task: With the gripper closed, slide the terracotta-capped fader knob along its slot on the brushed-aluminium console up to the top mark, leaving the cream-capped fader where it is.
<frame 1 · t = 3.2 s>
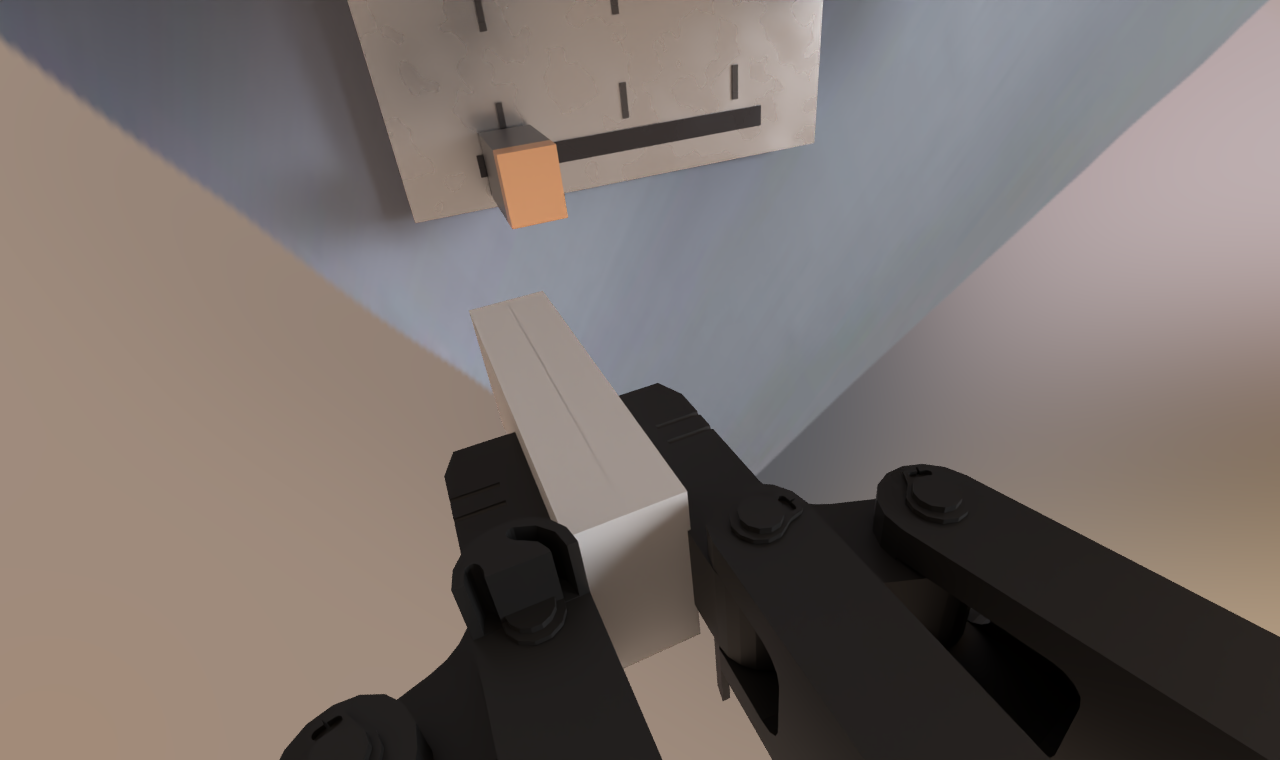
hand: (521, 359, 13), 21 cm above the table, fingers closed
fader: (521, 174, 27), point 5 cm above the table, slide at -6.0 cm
console: (605, 46, 30), on the table
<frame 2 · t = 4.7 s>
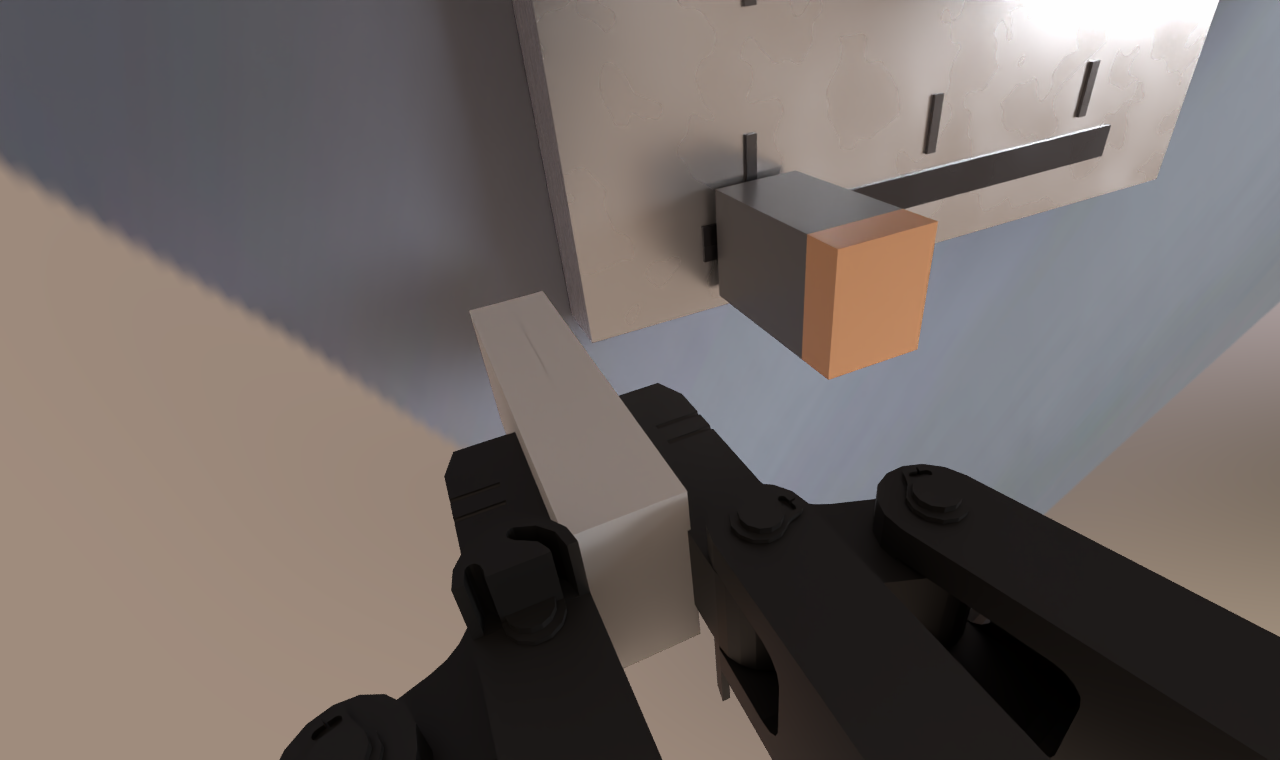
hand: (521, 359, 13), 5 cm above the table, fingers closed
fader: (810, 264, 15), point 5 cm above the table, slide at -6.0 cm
console: (893, 34, 18), on the table
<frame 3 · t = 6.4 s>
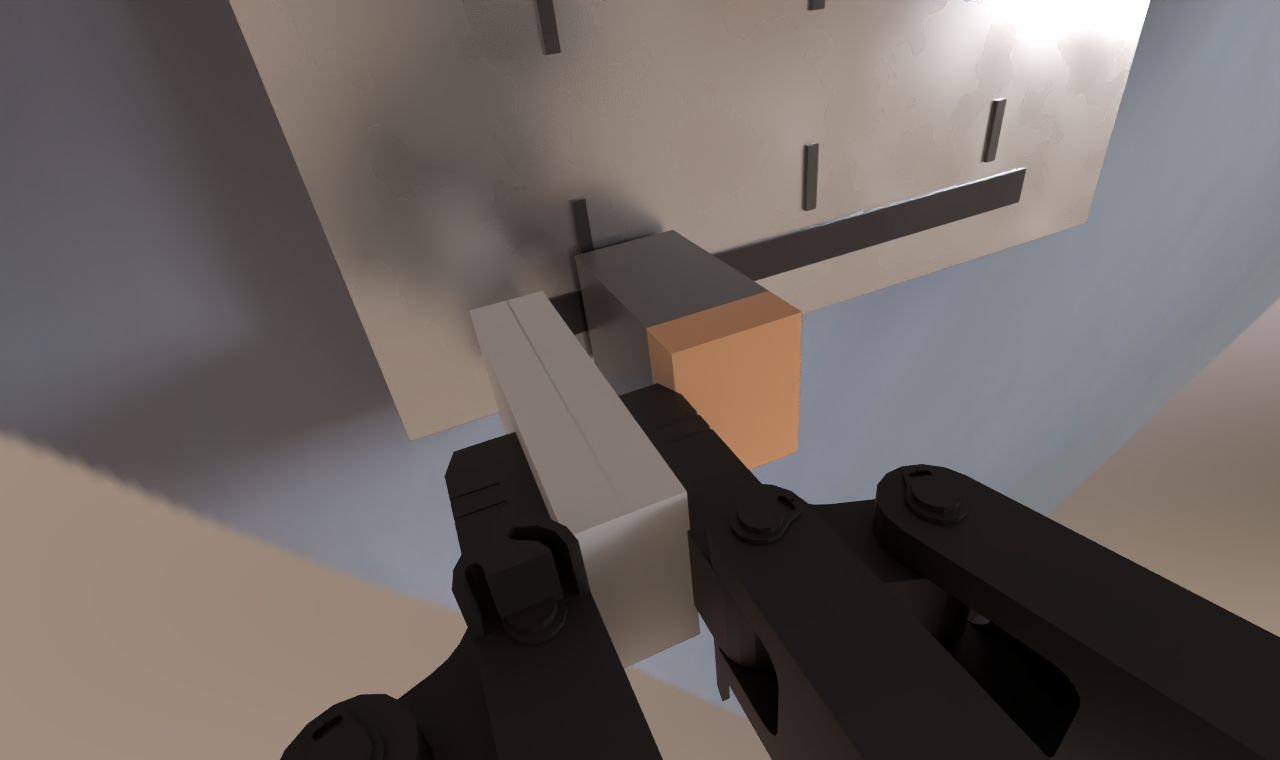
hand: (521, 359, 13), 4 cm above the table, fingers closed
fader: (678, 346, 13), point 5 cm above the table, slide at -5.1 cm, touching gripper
console: (765, 74, 16), on the table
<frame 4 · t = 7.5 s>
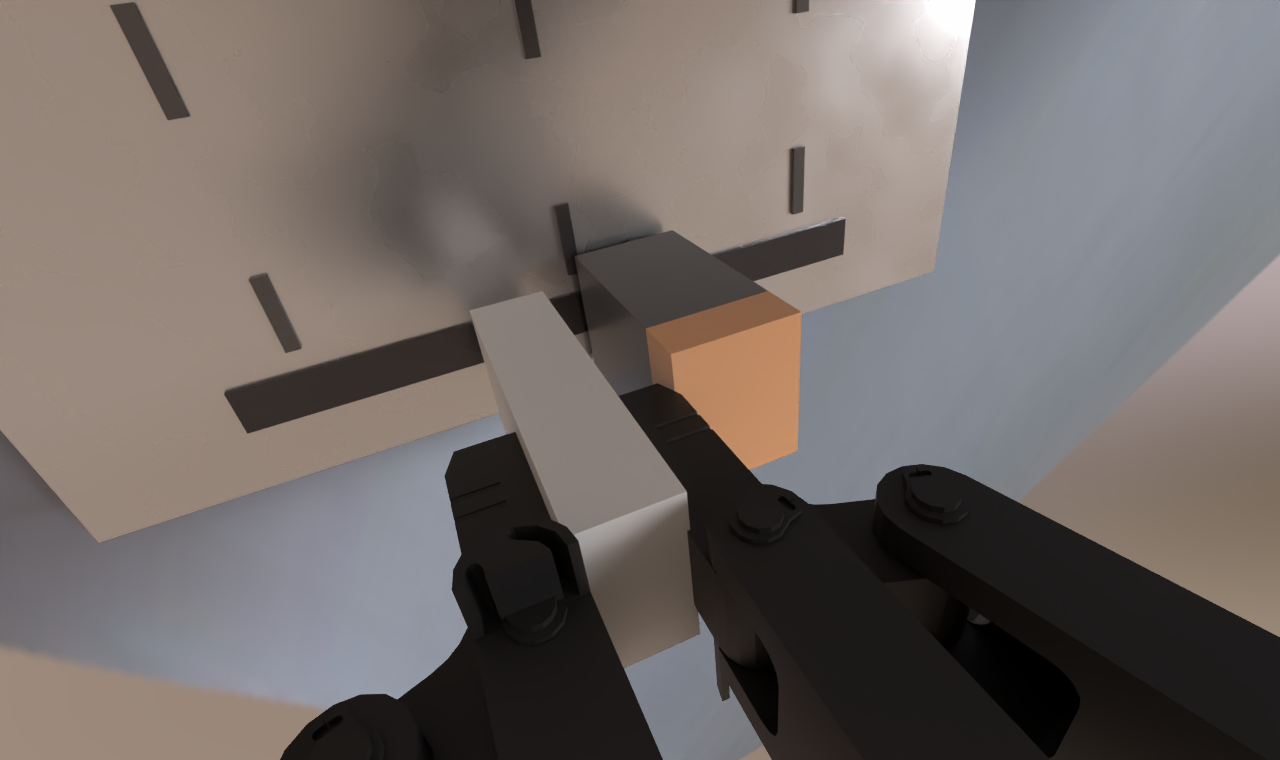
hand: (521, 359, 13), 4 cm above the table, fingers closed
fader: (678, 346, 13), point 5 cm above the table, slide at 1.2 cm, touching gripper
console: (523, 122, 14), on the table
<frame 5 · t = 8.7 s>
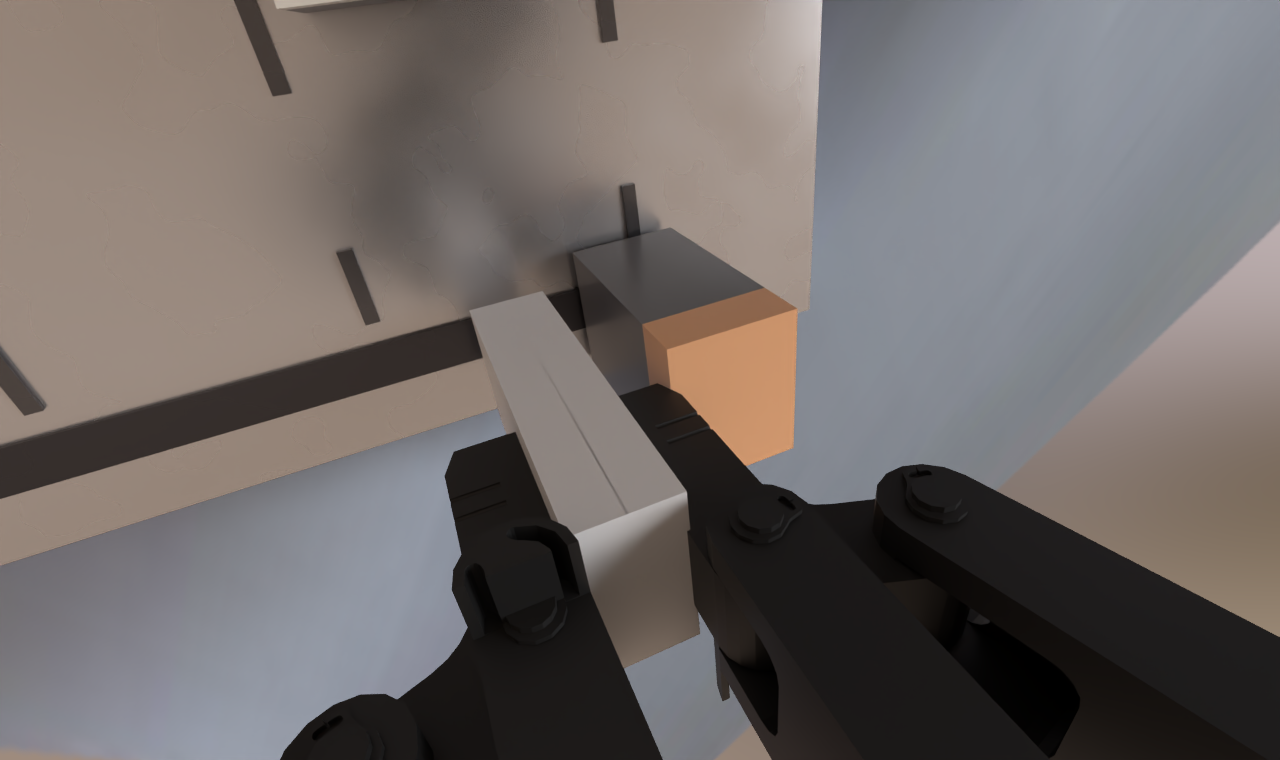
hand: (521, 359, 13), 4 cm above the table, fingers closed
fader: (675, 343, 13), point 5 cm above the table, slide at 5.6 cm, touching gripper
console: (319, 157, 13), on the table
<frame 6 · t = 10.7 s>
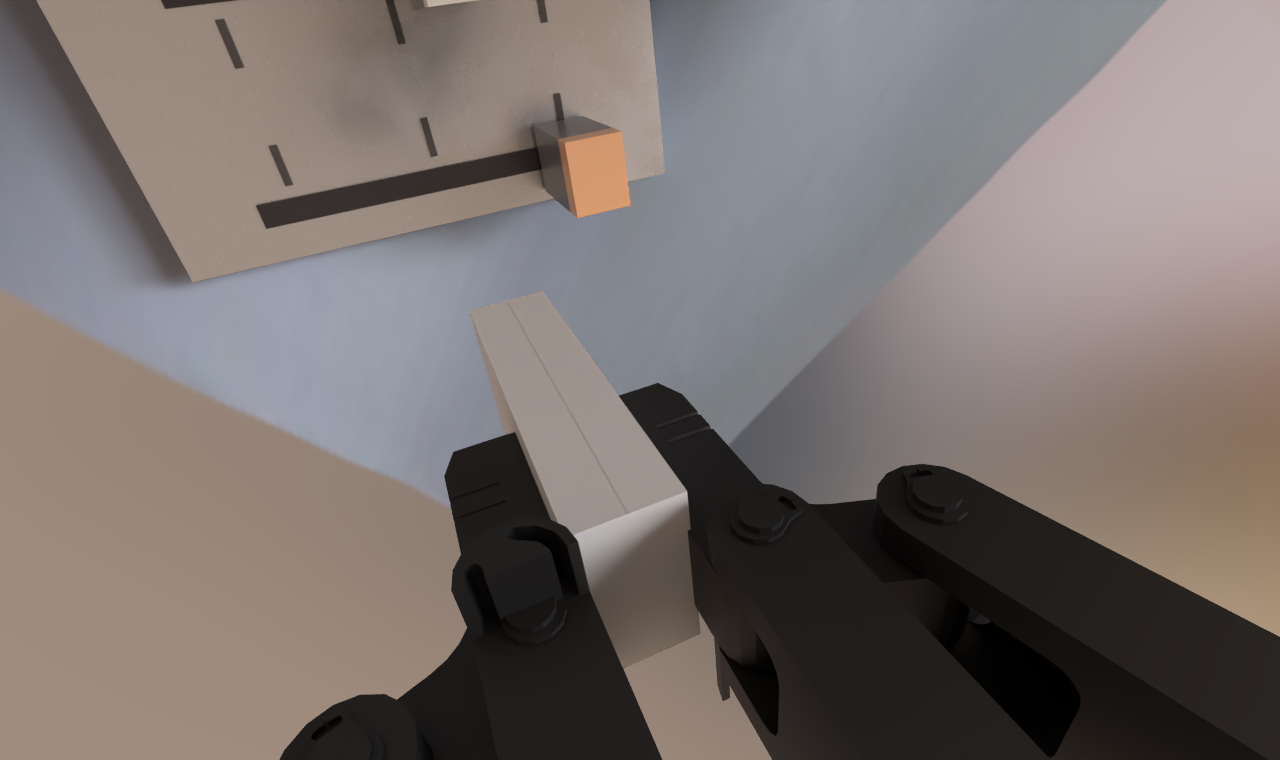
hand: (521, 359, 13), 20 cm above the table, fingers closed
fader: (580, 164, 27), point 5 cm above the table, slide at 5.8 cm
console: (408, 78, 27), on the table
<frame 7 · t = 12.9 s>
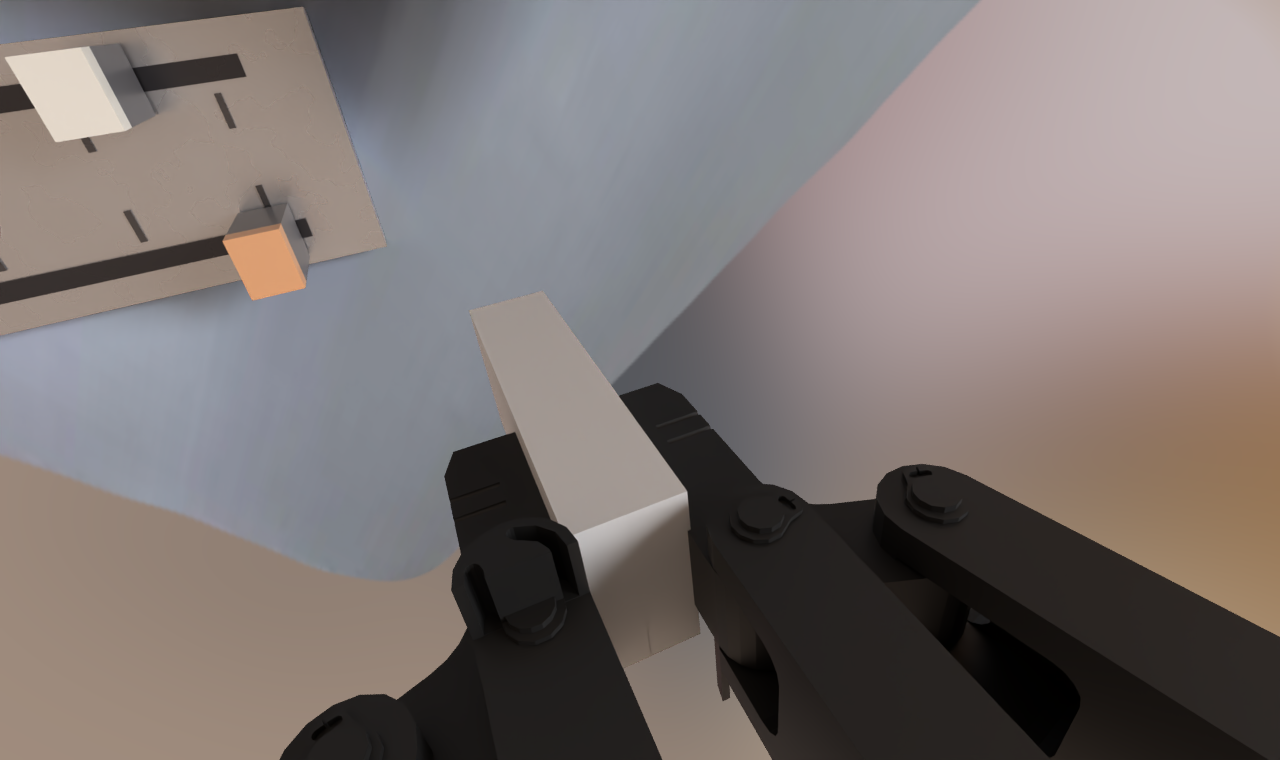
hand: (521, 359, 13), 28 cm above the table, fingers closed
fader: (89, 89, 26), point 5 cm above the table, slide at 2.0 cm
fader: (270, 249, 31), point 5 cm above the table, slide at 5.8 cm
console: (122, 173, 31), on the table
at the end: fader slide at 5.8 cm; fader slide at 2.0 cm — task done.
